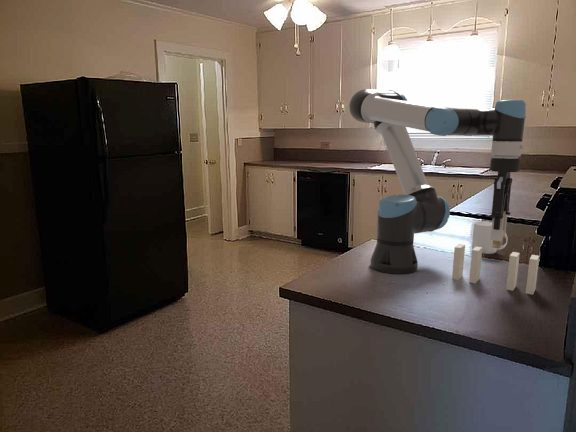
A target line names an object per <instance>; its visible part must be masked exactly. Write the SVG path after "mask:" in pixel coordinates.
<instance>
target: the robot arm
mask: <svg viewBox="0 0 576 432" xmlns="http://www.w3.org/2000/svg"><path fill="white" fill-rule="evenodd" d="M526 105H527V104H526V102H525V101H524V100H522V99H502V100H497V101H496V103H495V107H494V108H480V109H477V108H475V109H474V108H457V107H456V108H455V107H448V106H440V105H432V104H428V103H427V104H426V103H420V102H414V101H408V99H407V98H406V96H405V95H404V94H403V93H401V92H399V91H396V90H391V89H389V90H388V89H387V90H382V89H373V88H364V89H360V90H358V91H357V92H355V93H354V94H353V96H351V99H350V101H349V107H348V108H349V113H350V116H352V118H353V119H355V121H358V122H360V123H367V124H368V123H369V124H373V125H374V130H375V132H376V133H377V134H380V135H381V136H382V139H383V141H384V143H385V147H386V150H387V152H388V155H389V157H390V160H391V162H392V165H393V169H394V171H395V173H396V177H397V179H398V181H399V184H400V186H401V190H402V192H403V194H397V195H396V194H394V195H387V196H385V197H383V198H381V200H379V202H378V209H377V228H376V229H377V230H376V231H377V233H376V234H377V235H376V244H375V246H374V249H373V251H372V255H371V257H370V262H369V263H370V265H369V266H370V267H371V268H372V269H373V270H376V271H378V272H381V273H387V274H393V275H394V274H396V275H403V274H404V275H405V274H412V273H414V272H417V270H418V268H419V267H418V265H419V263H418V259H417V255H416V254H417V253H416V251H415V248H414V239H415V234H422V233H427V232H435V231H437V230H440V229H442V228H443V227H445V225H446V224H447V223H448V220H449V218H450V214H451V210H450V205H449V202H448V201H447V200H446V199H445V198H444V197H442V196H441V195H438V194H437V191H436V188H435V187H434V186H432V185H429V183H428V181H427V178H426V176H425V175H426V174H425V173H424V170H423V167H422V165H421V163H420V160H419V158H418V155H417V152H416V150H415V147H414V145H413V142H412V139H411V138H410V135H409V131H408V130H407V129H408V128H410V129H415V130H420V131H425V132H428V133H430V134H431V135H434V136H439V137H445V136H463V137H464V136H467V137H472V136H473V137H474V136H476V137H477V136H480V137H481V136H492V141H491V150H490V155H491V157H492V158H490V164H489V170H490V171H491V172H497V175H496V176H497V177H495V178H494V181H493V195H492V206H491V213H490V214H489V218H491V219H492V221H491V222H492V230H491V240H494V241H501V240H502V230H503V219H504V218H503V211H506V214H505V224H504V234H503V239H504V238H505V239H506V237H505V233H506V234H507V232H506V230H507V221H508V216H510V215H511V212H510V201H511V190H512V184H513V178H512V177H511V173H518V172H520V169H521V161H522V159H521V158H519V157H521V155H522V150H524V149H525V145H523V138H524V130H525V129H524V128H525V121H526V117H527V116H526V107H527V106H526ZM496 212H497V213H496Z"/></svg>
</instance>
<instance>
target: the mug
mask: <svg viewBox="0 0 576 432" xmlns="http://www.w3.org/2000/svg"><path fill="white" fill-rule="evenodd" d="M491 230H492V221H486V220H485V221H483V220H482V221H481V220H478V221H474V223H473V231H472V242H471V250H472V249H474V248H475V247H476V246H477V247H482V255H493V254H496V253H497V251H499V250H503V249H505V248H506V246H507V245H508V239H509V237H508V235H507V232H506V233H505V239H506V240H505V241H506V242H505V243H504V244H502V246H501V247H500V248H493V247H492V245H493V240H491Z"/></svg>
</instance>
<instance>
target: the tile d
mask: <svg viewBox="0 0 576 432" xmlns="http://www.w3.org/2000/svg"><path fill="white" fill-rule="evenodd" d="M539 263H540V255H537V254H536V255H535V254H531V256H530V257H529V261H528V271H527V276H526V277H527V279H526V286H525V294H527V295H534V293H535V291H536V288H537V279H538V270H539Z"/></svg>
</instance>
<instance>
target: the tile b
mask: <svg viewBox="0 0 576 432" xmlns="http://www.w3.org/2000/svg"><path fill="white" fill-rule="evenodd" d="M482 255H483V254H482V247H477V246H476V247H475V248H474V249H472V248H471V257H470V267H469V270H470V271H469V278H468V279H469V280H468V282H469V283H471V284H477V283H478V281H479V280H480V276H481V267H482V266H481V265H482V258H483V257H482Z"/></svg>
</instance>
